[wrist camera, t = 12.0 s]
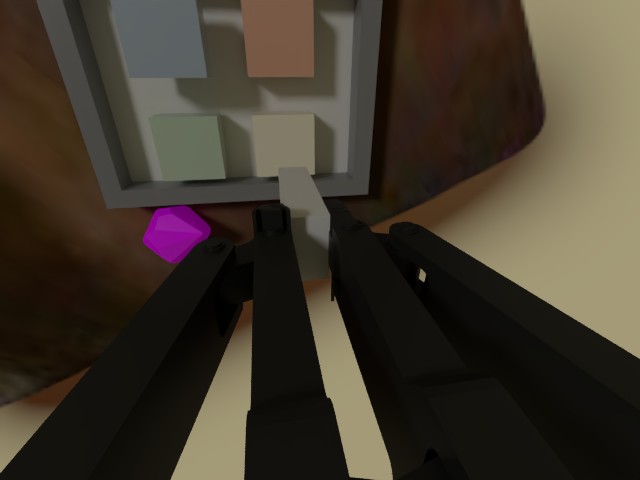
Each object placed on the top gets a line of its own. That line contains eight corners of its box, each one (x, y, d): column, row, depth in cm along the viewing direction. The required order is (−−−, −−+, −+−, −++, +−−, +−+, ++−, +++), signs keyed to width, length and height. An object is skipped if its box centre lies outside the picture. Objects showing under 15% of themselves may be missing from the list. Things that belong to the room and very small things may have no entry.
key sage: (171, 173, 30) (163, 181, 27) (157, 113, 27) (148, 117, 25) (228, 170, 30) (225, 178, 28) (220, 112, 28) (216, 116, 26)
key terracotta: (249, 76, 27) (247, 77, 25) (242, 0, 24) (240, -7, 22) (310, 76, 28) (314, 76, 25) (309, 2, 25) (313, -4, 23)
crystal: (164, 194, 31) (149, 212, 27) (217, 215, 33) (211, 235, 29) (149, 236, 33) (133, 259, 29) (200, 254, 35) (192, 278, 31)
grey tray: (120, 197, 31) (107, 208, 28) (44, -45, 22) (15, -60, 20) (359, 184, 34) (368, 194, 31) (373, -30, 26) (385, -41, 23)
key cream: (257, 169, 31) (257, 177, 28) (252, 111, 28) (251, 115, 26) (311, 167, 31) (314, 174, 29) (310, 110, 29) (314, 114, 27)
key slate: (141, 77, 24) (129, 78, 22) (121, -8, 22) (106, -17, 20) (212, 77, 25) (207, 77, 23) (200, -6, 22) (193, -14, 20)
